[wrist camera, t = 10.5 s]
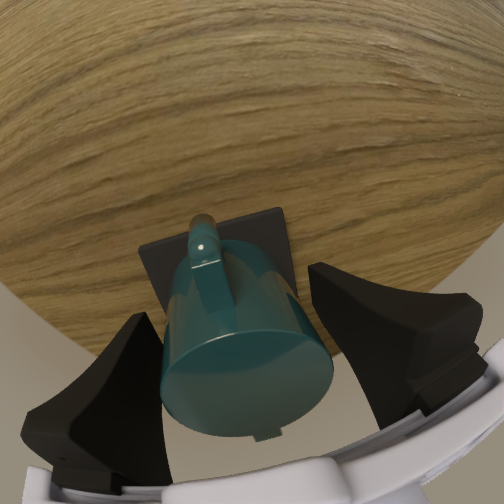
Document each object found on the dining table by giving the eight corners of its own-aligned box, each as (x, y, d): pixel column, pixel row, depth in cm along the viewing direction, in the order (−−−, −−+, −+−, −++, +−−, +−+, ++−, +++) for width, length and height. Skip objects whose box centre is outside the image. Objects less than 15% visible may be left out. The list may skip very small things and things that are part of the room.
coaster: (186, 350, 14) (186, 356, 14) (139, 245, 12) (137, 250, 11) (299, 318, 15) (302, 324, 14) (279, 206, 12) (282, 209, 12)
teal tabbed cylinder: (197, 355, 14) (205, 454, 9) (138, 218, 11) (89, 297, 5) (291, 329, 14) (334, 419, 9) (261, 183, 11) (324, 231, 6)
